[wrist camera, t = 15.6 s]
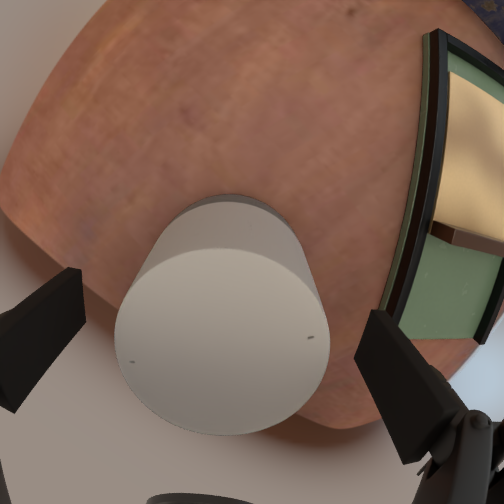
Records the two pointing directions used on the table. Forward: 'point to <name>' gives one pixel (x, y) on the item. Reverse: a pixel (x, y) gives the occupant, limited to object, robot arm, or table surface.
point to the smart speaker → (224, 321)
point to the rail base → (420, 210)
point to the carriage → (471, 171)
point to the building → (490, 14)
